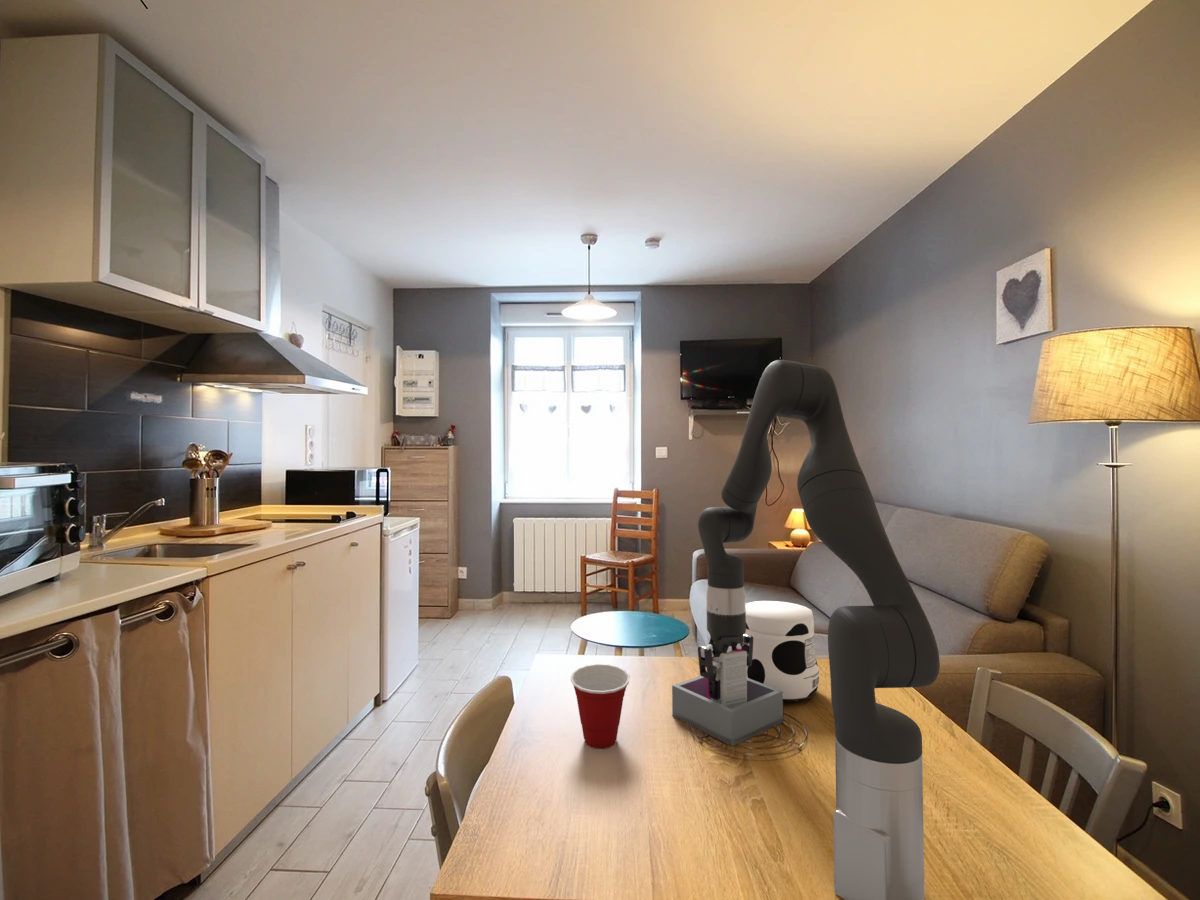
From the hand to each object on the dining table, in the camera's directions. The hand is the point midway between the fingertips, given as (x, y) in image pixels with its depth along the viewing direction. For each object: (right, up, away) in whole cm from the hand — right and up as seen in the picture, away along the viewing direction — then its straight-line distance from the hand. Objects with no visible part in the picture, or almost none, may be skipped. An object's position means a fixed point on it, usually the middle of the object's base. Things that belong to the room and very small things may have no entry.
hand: (726, 693), depth 109 cm
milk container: (+14, -5, +13) cm, 20 cm away
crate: (0, -5, 0) cm, 5 cm away
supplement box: (0, -3, 0) cm, 3 cm away
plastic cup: (-25, -5, -9) cm, 27 cm away
